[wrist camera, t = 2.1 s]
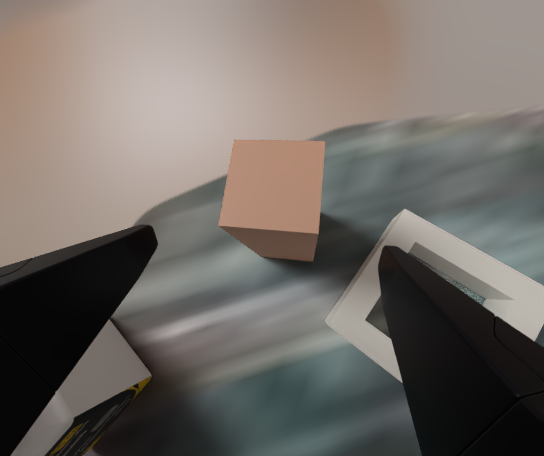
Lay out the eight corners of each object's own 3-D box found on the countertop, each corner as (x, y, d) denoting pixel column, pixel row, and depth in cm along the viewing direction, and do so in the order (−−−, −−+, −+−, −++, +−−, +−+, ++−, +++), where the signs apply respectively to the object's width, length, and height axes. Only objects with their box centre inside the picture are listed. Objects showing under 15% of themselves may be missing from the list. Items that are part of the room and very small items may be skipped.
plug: (313, 261, 19) (318, 233, 10) (260, 256, 20) (218, 225, 11) (317, 208, 21) (325, 137, 11) (267, 205, 21) (234, 136, 12)
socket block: (453, 419, 15) (480, 443, 13) (324, 320, 18) (327, 324, 16) (523, 294, 17) (559, 294, 14) (392, 218, 19) (404, 208, 17)
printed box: (90, 450, 18) (-281, 723, 7) (47, 378, 20) (-296, 493, 9) (155, 375, 19) (-81, 506, 7) (107, 313, 21) (-136, 340, 9)
